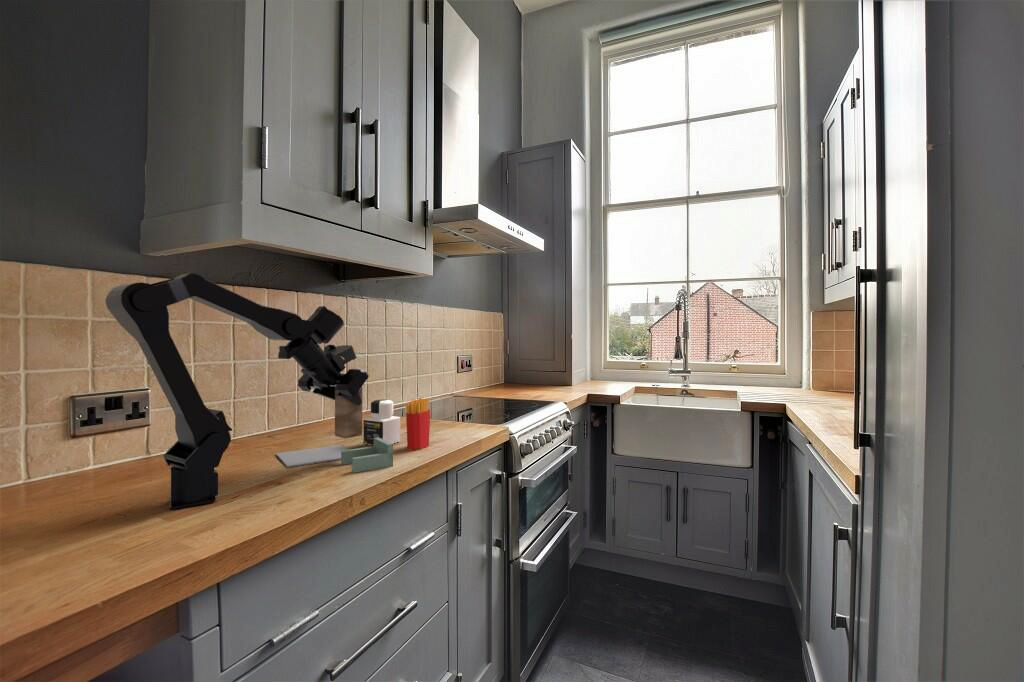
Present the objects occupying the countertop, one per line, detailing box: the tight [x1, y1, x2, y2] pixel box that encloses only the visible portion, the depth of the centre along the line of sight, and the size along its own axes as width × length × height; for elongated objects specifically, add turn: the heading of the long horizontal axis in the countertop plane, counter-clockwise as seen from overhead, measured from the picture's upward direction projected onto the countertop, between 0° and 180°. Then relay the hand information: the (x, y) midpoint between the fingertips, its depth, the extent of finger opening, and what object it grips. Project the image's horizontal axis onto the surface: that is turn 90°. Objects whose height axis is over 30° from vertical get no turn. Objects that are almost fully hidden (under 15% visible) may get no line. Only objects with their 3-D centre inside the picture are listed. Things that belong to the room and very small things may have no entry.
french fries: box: [405, 397, 431, 451], centre depth 123 cm, size 9×4×13 cm, turn 160°
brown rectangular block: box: [334, 385, 363, 439], centre depth 109 cm, size 4×4×13 cm
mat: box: [275, 444, 351, 469], centre depth 113 cm, size 16×14×1 cm
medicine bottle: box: [363, 399, 401, 446], centre depth 127 cm, size 7×7×12 cm
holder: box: [340, 437, 394, 474], centre depth 105 cm, size 9×9×5 cm
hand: (353, 403), depth 110 cm, fingers closed on brown rectangular block, 5 cm apart
